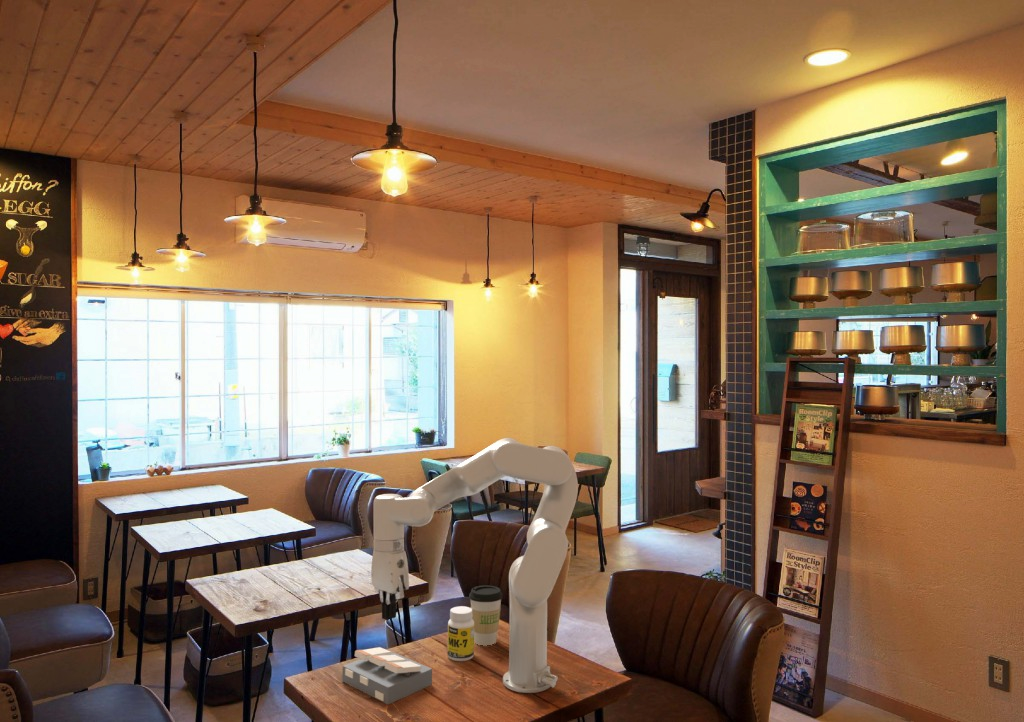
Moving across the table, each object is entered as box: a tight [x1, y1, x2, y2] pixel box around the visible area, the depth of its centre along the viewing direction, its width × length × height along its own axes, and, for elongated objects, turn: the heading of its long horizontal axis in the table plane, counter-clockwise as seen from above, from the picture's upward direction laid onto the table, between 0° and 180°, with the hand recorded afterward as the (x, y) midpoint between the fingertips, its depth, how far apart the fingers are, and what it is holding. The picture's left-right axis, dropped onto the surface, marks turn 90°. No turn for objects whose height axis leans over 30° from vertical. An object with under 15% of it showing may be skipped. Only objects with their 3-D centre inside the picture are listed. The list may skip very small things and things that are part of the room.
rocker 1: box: [354, 646, 391, 661], centre depth 183 cm, size 4×8×1 cm, turn 139°
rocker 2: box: [370, 655, 406, 666], centre depth 179 cm, size 4×8×1 cm, turn 139°
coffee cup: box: [468, 584, 504, 647], centre depth 206 cm, size 10×10×15 cm
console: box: [341, 649, 433, 705], centre depth 179 cm, size 18×14×5 cm
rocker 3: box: [385, 661, 422, 673], centre depth 175 cm, size 4×8×1 cm, turn 139°
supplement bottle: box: [446, 605, 475, 662], centre depth 195 cm, size 7×7×13 cm
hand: (389, 617), depth 177 cm, fingers closed
